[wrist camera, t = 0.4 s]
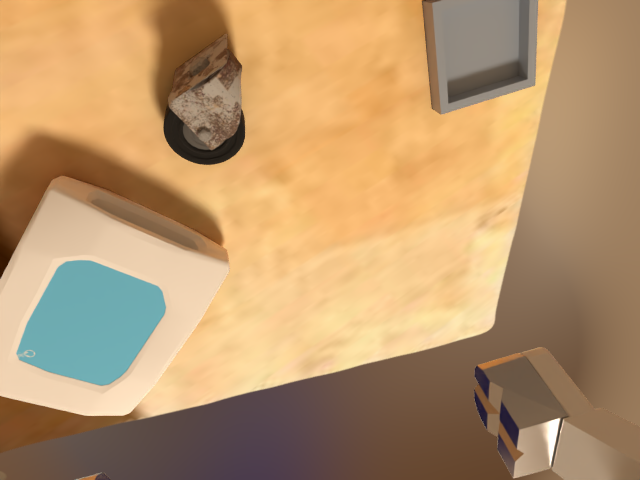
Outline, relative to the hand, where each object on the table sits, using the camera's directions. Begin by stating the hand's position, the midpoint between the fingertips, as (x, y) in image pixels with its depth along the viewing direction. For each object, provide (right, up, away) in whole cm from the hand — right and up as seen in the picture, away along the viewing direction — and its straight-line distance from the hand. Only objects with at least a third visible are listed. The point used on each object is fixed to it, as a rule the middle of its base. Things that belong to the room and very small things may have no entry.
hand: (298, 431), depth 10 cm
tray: (+18, +27, +44) cm, 55 cm away
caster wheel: (-11, +19, +41) cm, 47 cm away
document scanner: (-27, -3, +50) cm, 57 cm away
